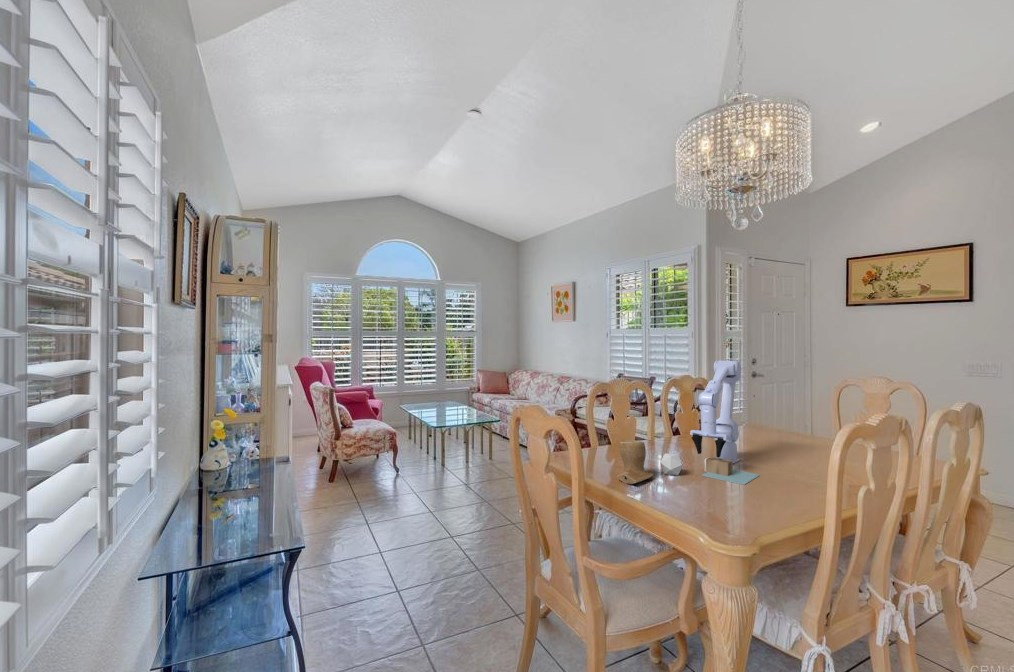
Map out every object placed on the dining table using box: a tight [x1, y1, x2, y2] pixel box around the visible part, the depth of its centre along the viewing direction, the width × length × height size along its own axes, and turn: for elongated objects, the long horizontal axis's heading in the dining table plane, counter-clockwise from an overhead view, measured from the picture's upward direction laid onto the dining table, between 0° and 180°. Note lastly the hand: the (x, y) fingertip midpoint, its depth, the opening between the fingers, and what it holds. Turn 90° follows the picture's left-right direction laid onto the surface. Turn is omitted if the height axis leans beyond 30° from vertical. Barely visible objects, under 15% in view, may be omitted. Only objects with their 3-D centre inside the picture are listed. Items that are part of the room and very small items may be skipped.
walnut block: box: [704, 456, 734, 476], centre depth 187 cm, size 5×5×9 cm
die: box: [659, 452, 683, 476], centre depth 187 cm, size 8×9×10 cm
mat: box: [701, 469, 760, 486], centre depth 184 cm, size 16×16×1 cm
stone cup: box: [616, 440, 654, 485], centre depth 180 cm, size 15×12×15 cm
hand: (708, 455), depth 190 cm, fingers open, 7 cm apart
